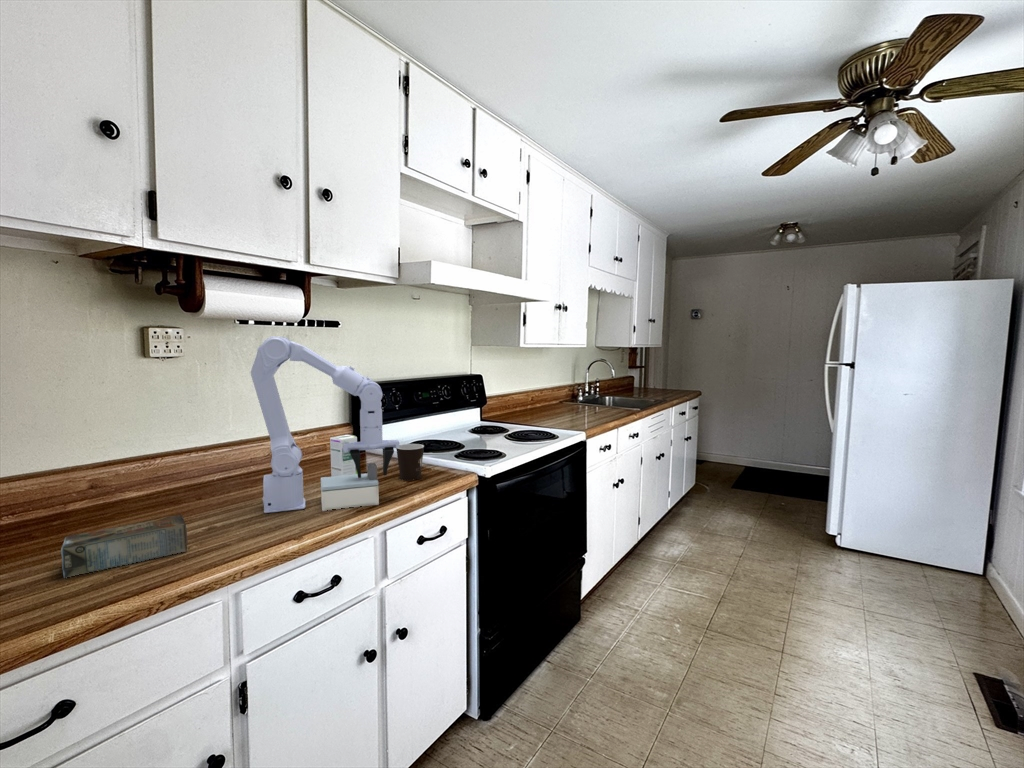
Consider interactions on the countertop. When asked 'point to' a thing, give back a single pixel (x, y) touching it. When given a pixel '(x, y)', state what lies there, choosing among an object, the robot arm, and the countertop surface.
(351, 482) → the carton lid
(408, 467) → the coffee mug
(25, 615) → the countertop surface
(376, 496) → the carton
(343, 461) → the syrup box
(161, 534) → the beverage carton
